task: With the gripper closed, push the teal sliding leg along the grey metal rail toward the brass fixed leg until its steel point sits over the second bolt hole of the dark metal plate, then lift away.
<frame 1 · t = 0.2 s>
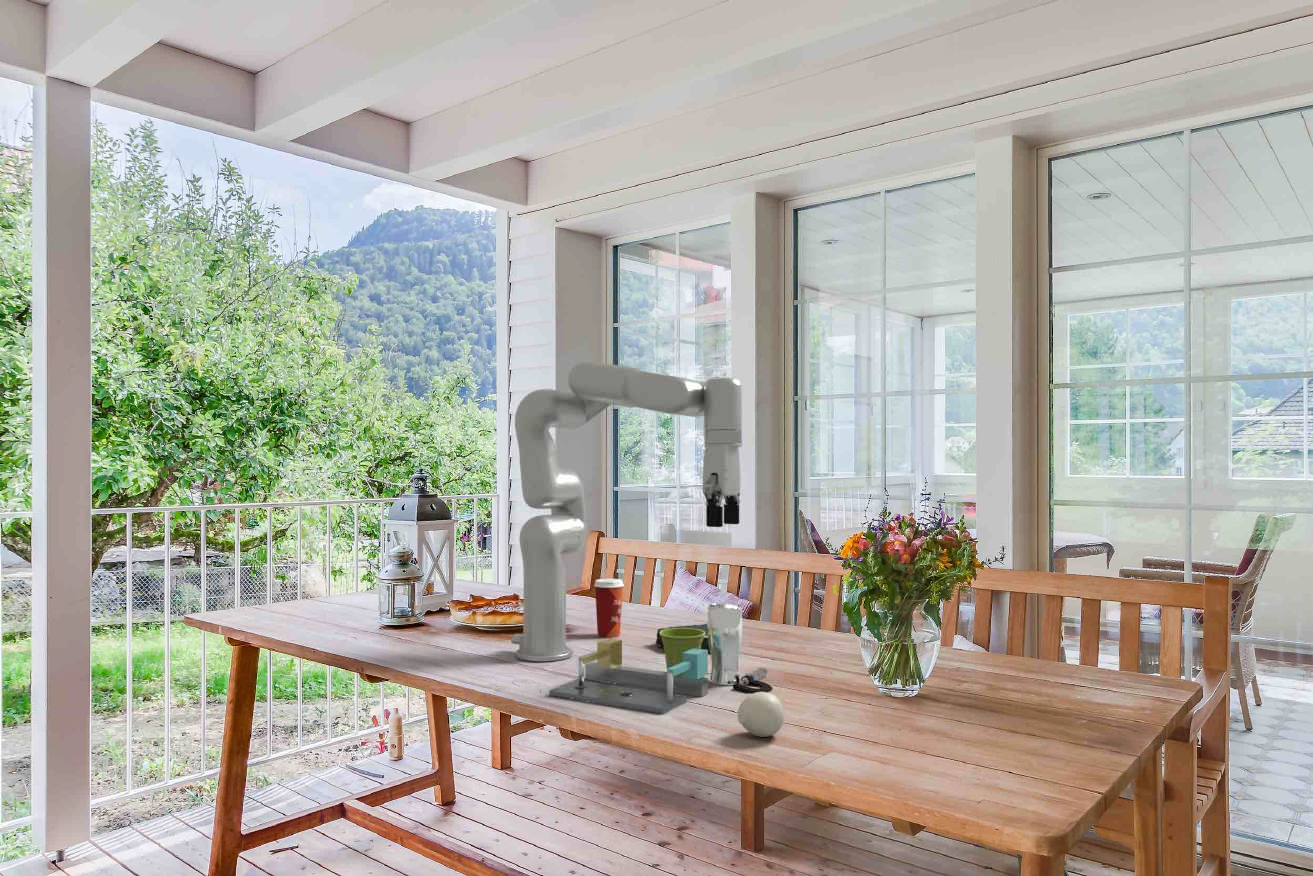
hand: (723, 525, 167), 31 cm above the table, tool pointing down, fingers open, 9 cm apart
fixed leg: (609, 681, 166), resting on hole plate
beer glass: (724, 683, 166), on the table
micrometer: (761, 687, 164), on the table
hole plate: (617, 698, 153), on the table
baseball: (760, 737, 132), on the table
plant pot: (682, 675, 171), on the table
paper cup: (608, 636, 212), on the table
sliding leg: (685, 673, 153), point 5 cm above the table, slide at 9.0 cm
rail: (644, 686, 162), on the table
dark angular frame: (693, 649, 198), on the table
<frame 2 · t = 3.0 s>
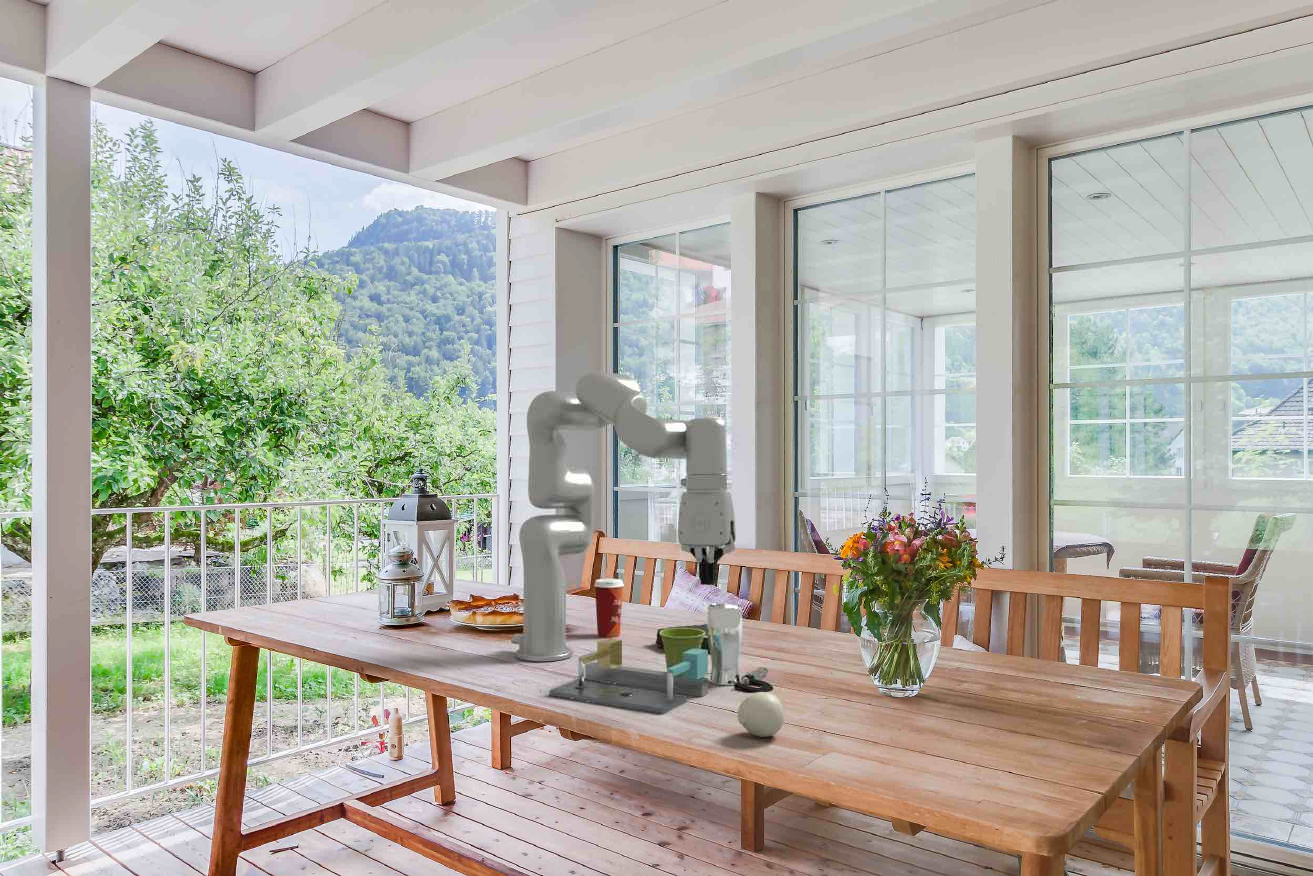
hand: (708, 583, 155), 21 cm above the table, tool pointing down, fingers closed
nothing on the table moved.
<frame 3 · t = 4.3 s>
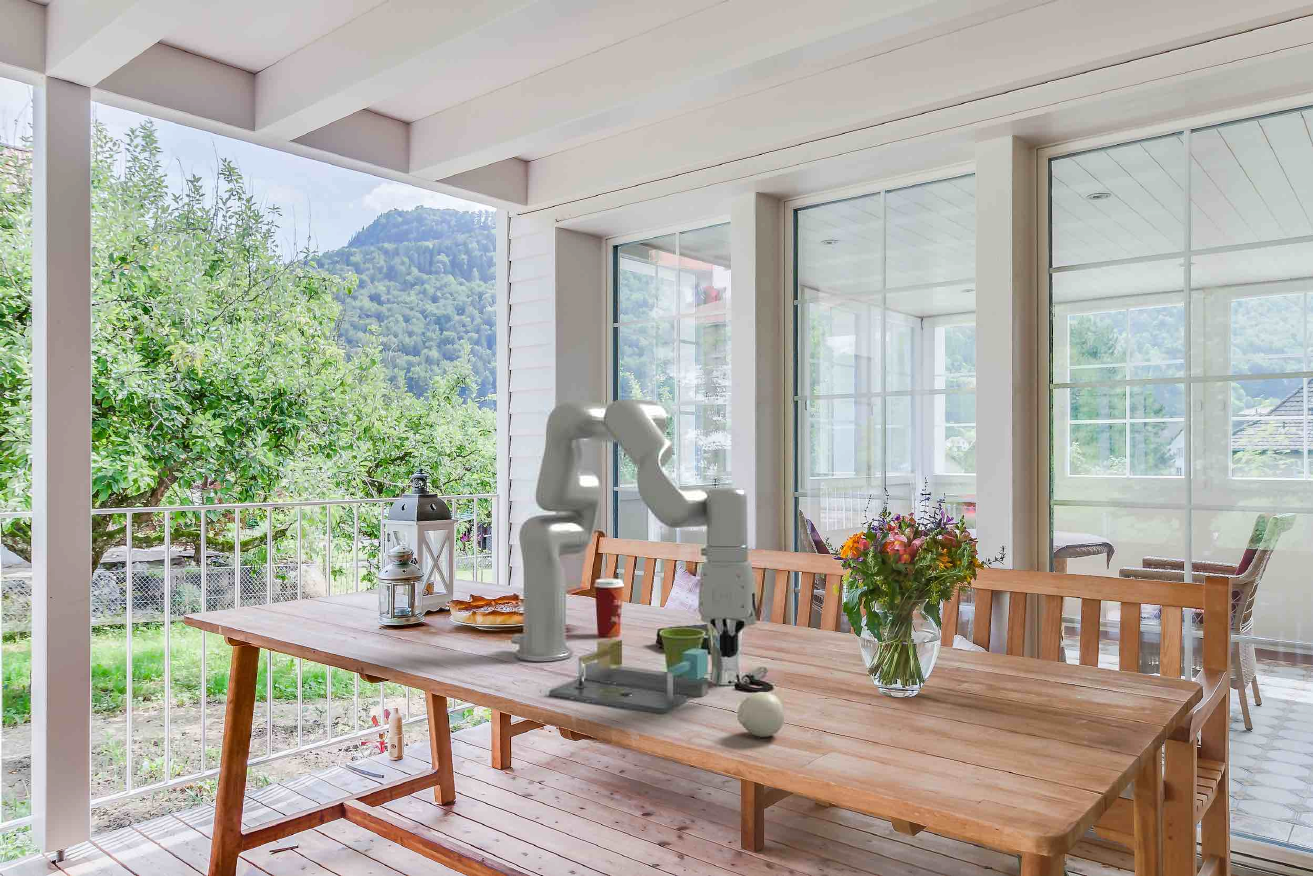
hand: (729, 655, 153), 8 cm above the table, tool pointing down, fingers closed
nothing on the table moved.
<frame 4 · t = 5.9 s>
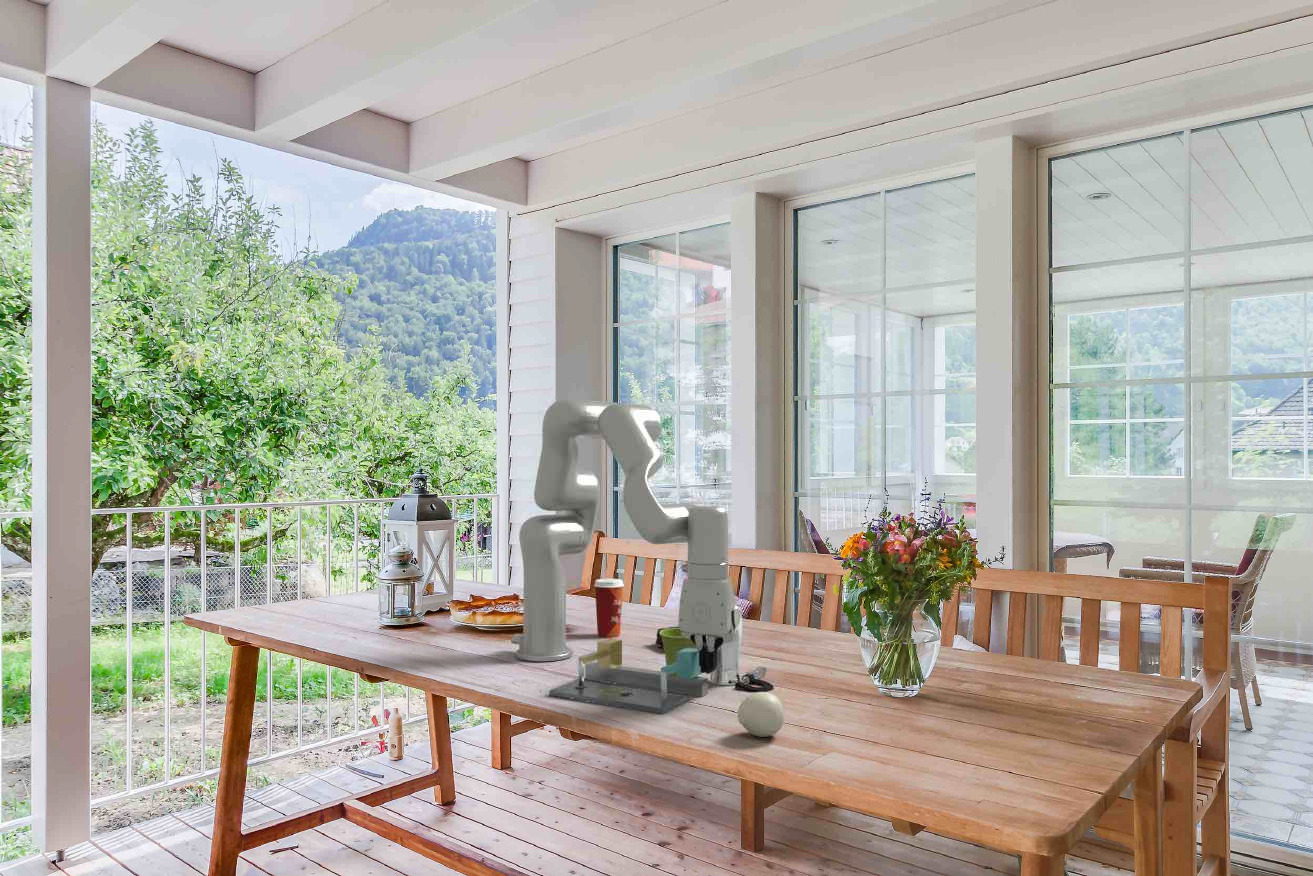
hand: (708, 671, 156), 4 cm above the table, tool pointing down, fingers closed
sliding leg: (679, 672, 154), point 5 cm above the table, slide at 7.7 cm, touching gripper
everything else where it was.
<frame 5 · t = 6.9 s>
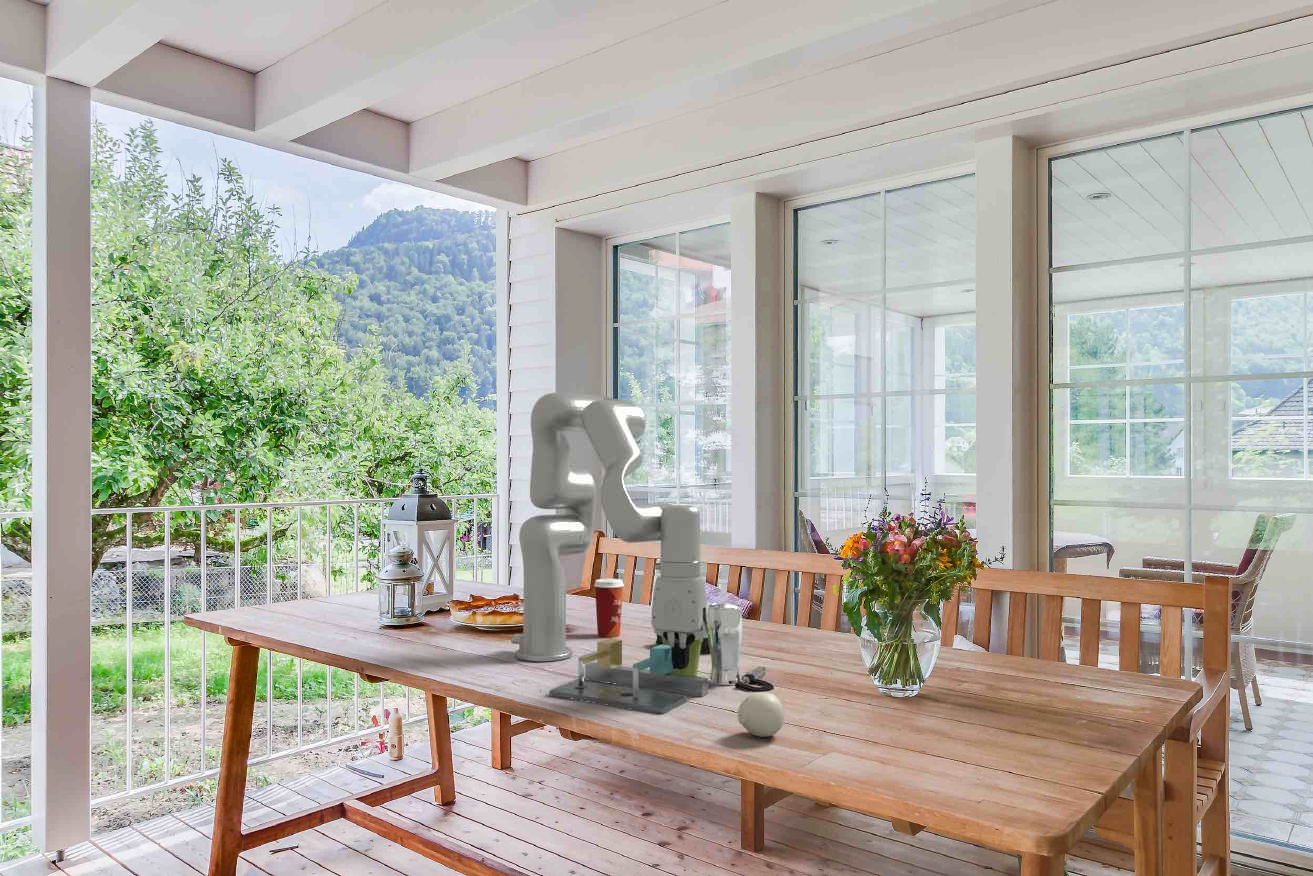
hand: (680, 667, 158), 4 cm above the table, tool pointing down, fingers closed
sliding leg: (651, 669, 157), point 5 cm above the table, slide at 1.9 cm, touching gripper
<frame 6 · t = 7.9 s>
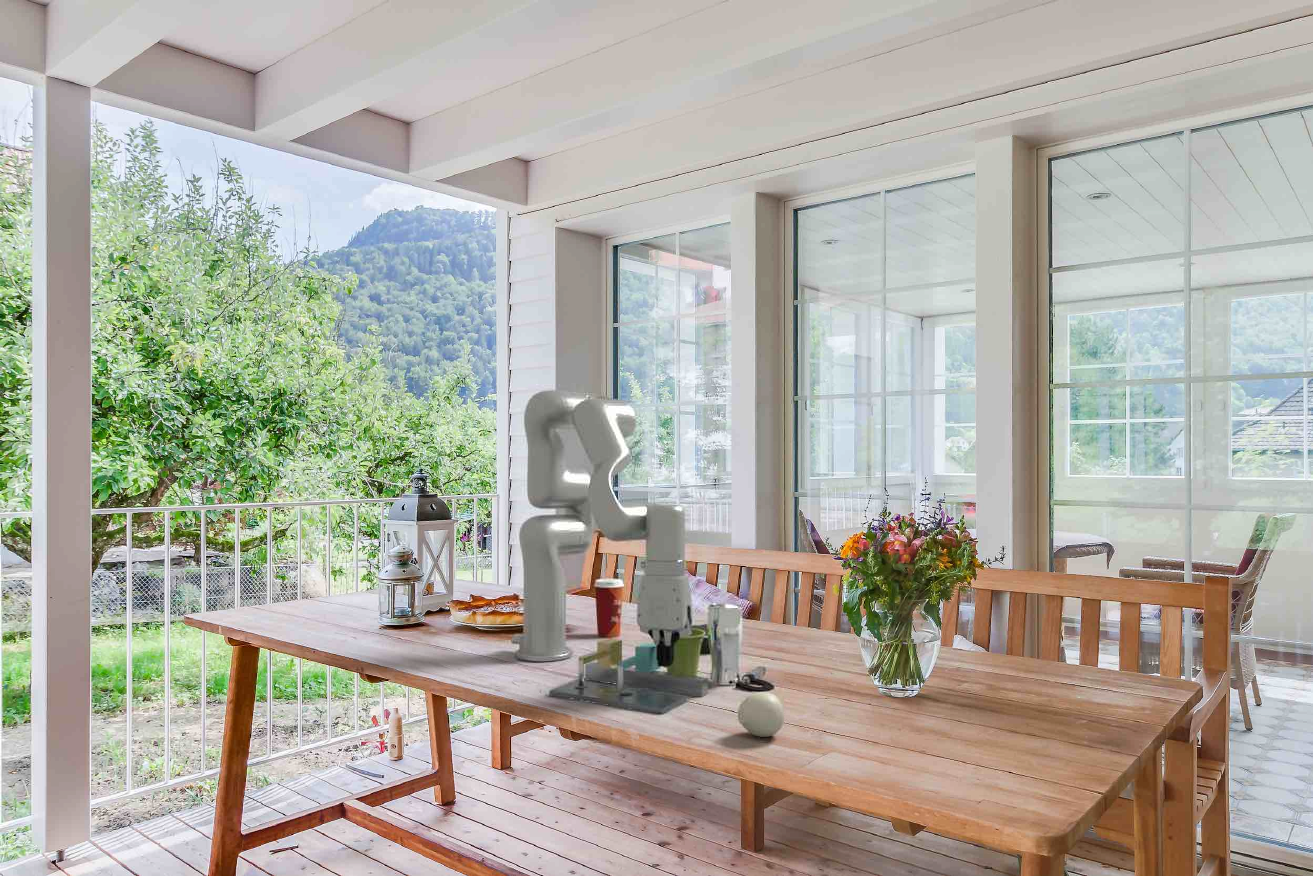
hand: (665, 665, 160), 5 cm above the table, tool pointing down, fingers closed
sliding leg: (636, 667, 158), point 5 cm above the table, slide at -1.3 cm, touching gripper
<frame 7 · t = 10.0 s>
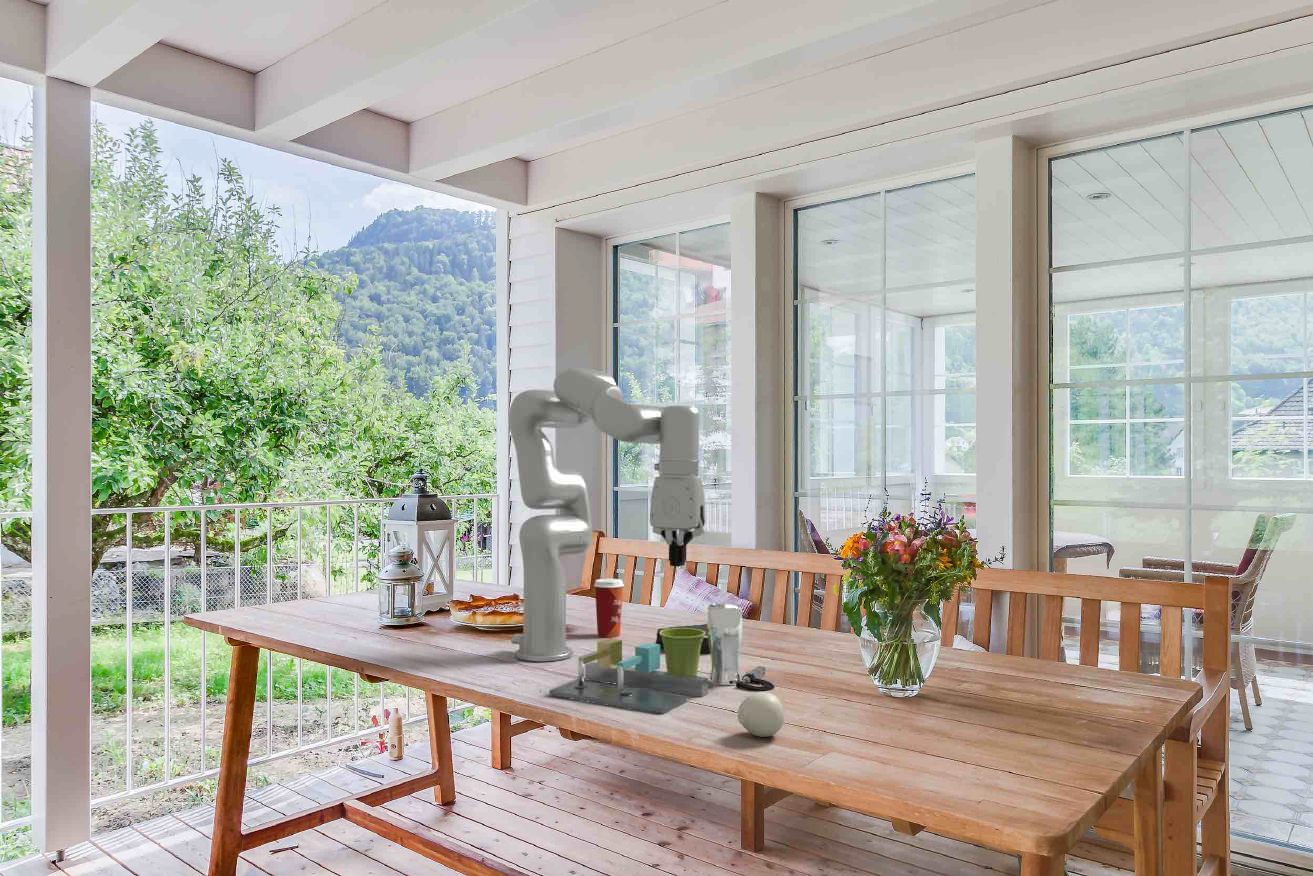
hand: (677, 565, 161), 24 cm above the table, tool pointing down, fingers closed
sliding leg: (636, 667, 158), point 5 cm above the table, slide at -1.3 cm
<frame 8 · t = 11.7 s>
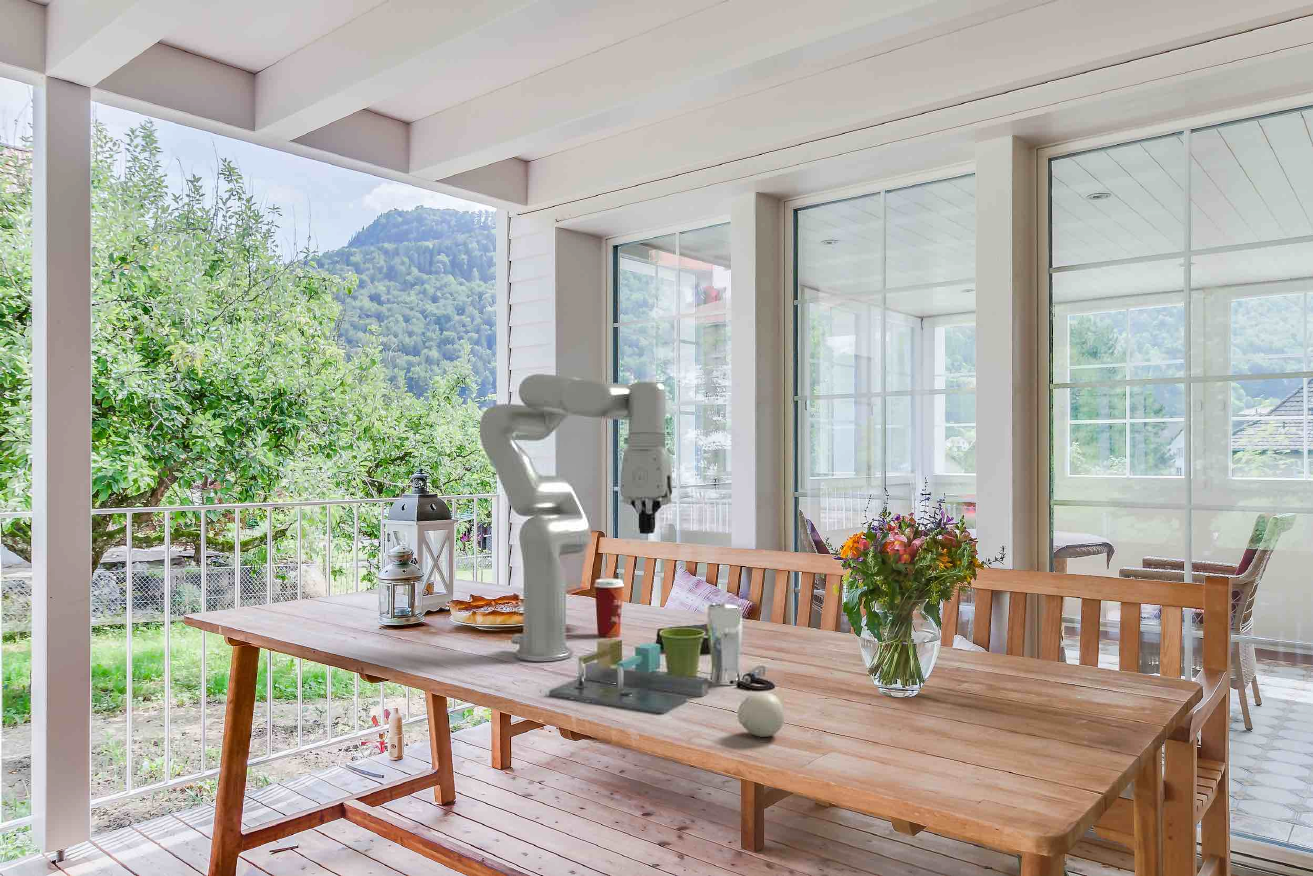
hand: (646, 533, 170), 29 cm above the table, tool pointing down, fingers closed
at the end: sliding leg slide at -1.3 cm; sliding leg touching nothing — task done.
